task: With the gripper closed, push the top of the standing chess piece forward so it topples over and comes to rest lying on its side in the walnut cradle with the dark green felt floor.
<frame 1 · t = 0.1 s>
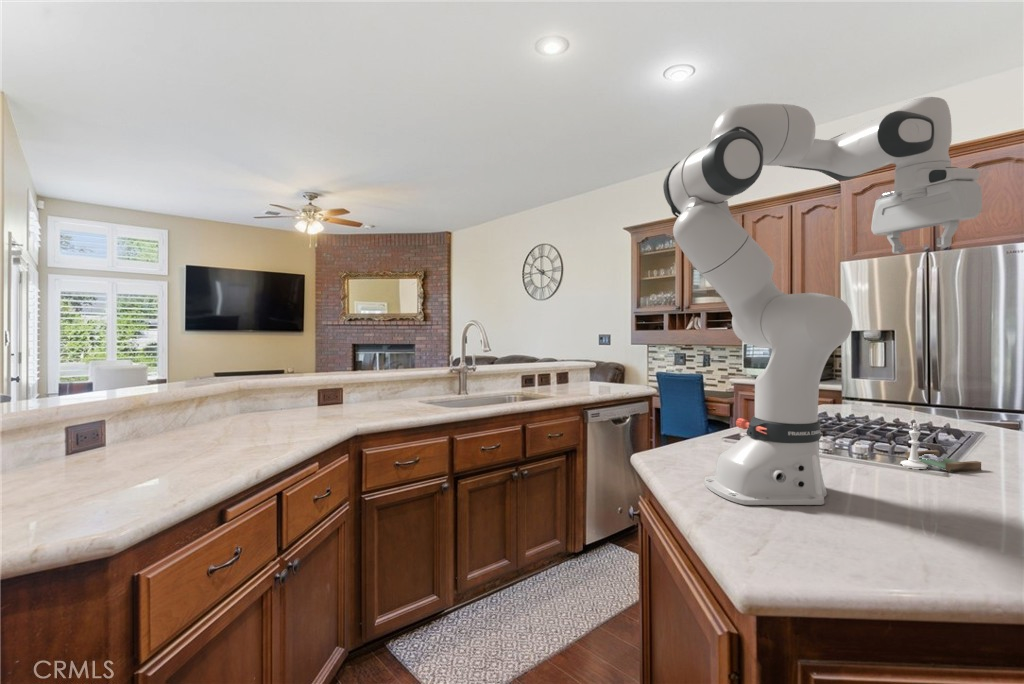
hand: (920, 250, 100), 48 cm above the countertop, fingers open, 8 cm apart
cradle: (942, 464, 111), on the countertop
chess piece: (913, 467, 109), on the countertop
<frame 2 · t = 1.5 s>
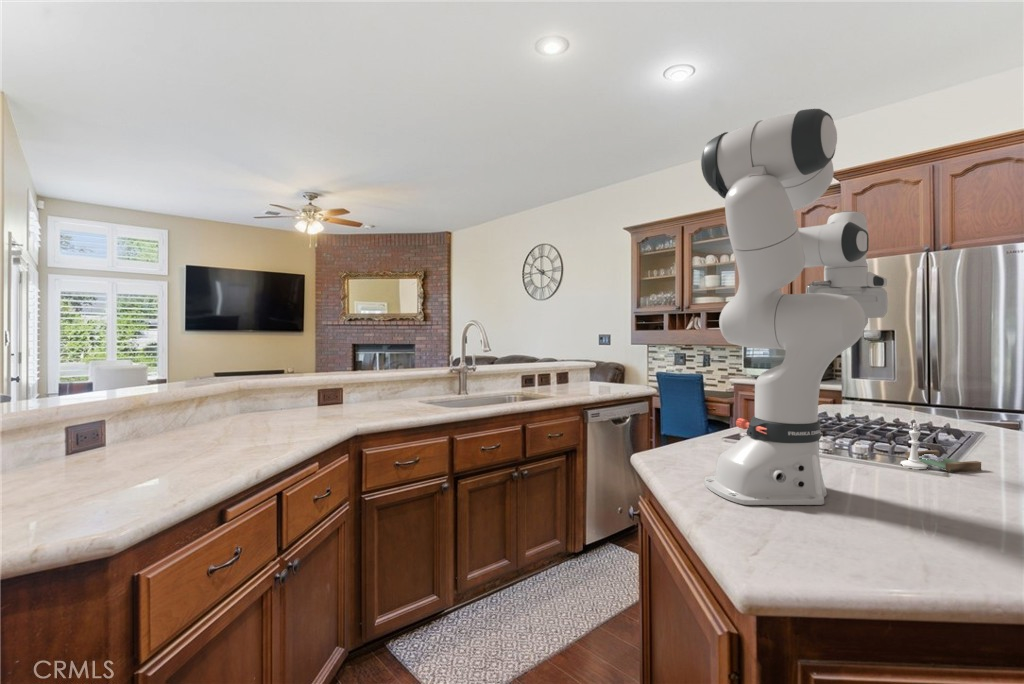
hand: (844, 337, 118), 29 cm above the countertop, fingers open, 6 cm apart
nothing on the countertop moved.
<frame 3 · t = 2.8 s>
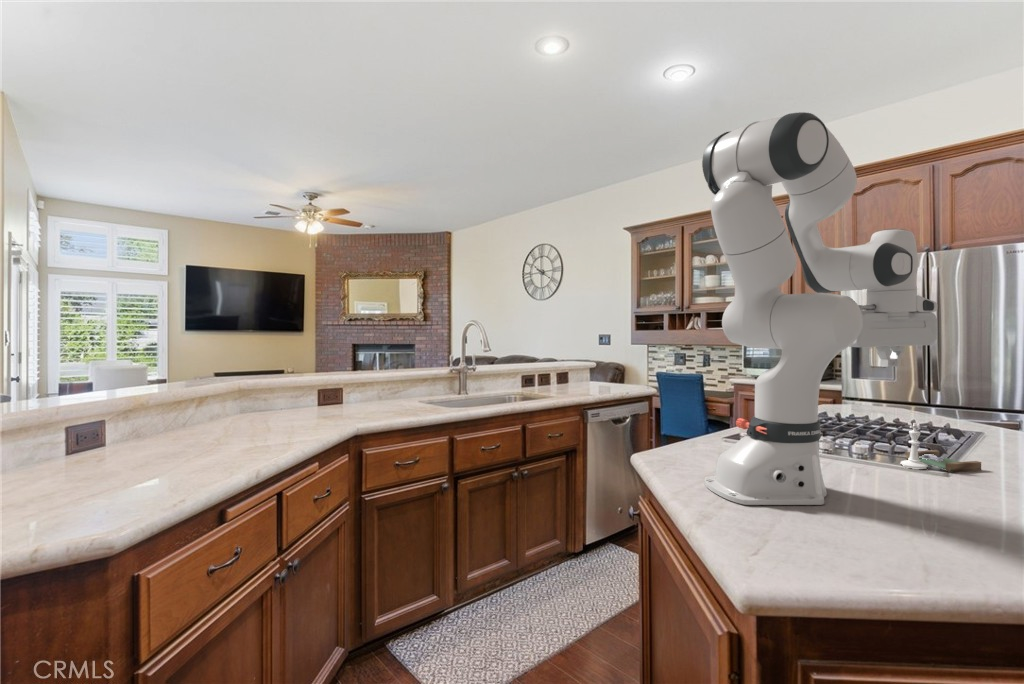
hand: (889, 366, 108), 23 cm above the countertop, fingers closed
nothing on the countertop moved.
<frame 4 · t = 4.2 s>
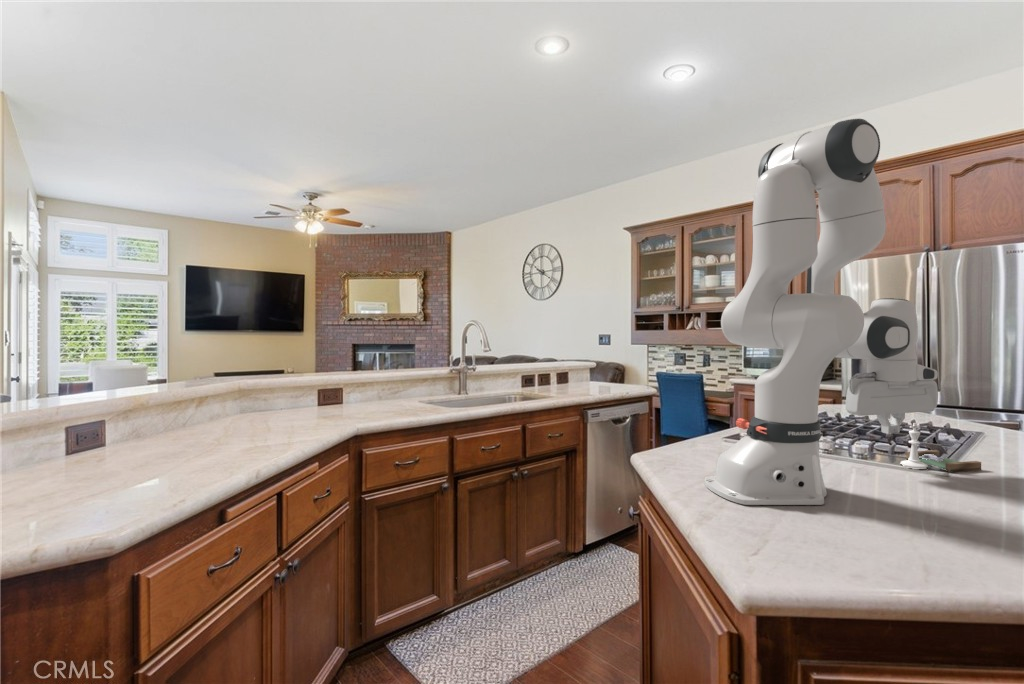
hand: (890, 432, 108), 8 cm above the countertop, fingers closed
nothing on the countertop moved.
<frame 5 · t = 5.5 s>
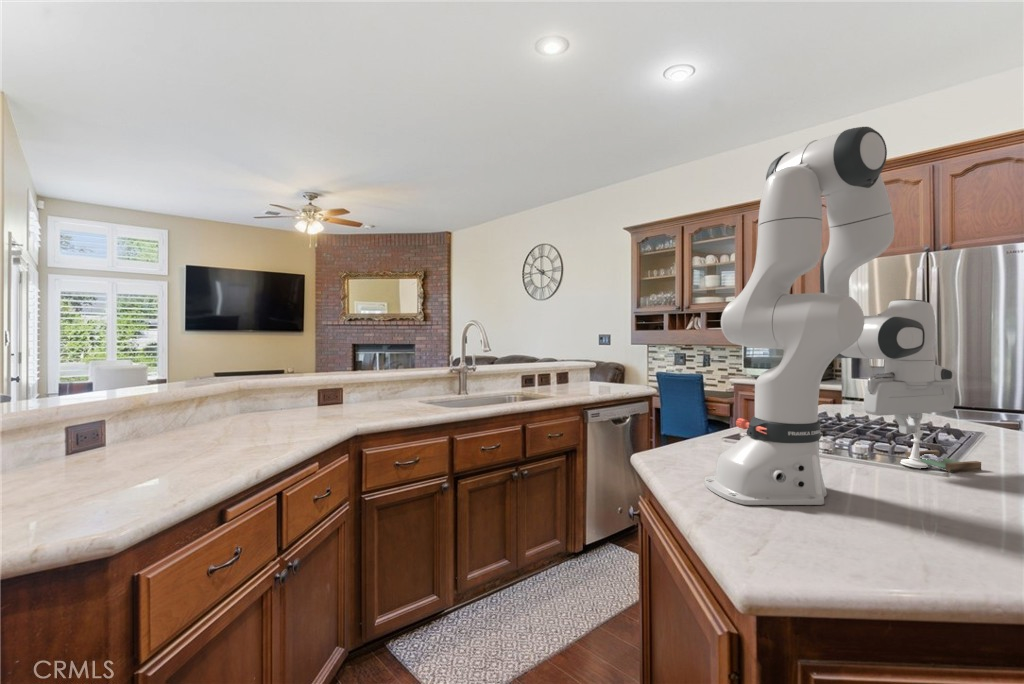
hand: (907, 432, 109), 8 cm above the countertop, fingers closed
chess piece: (913, 466, 109), on the countertop, touching gripper
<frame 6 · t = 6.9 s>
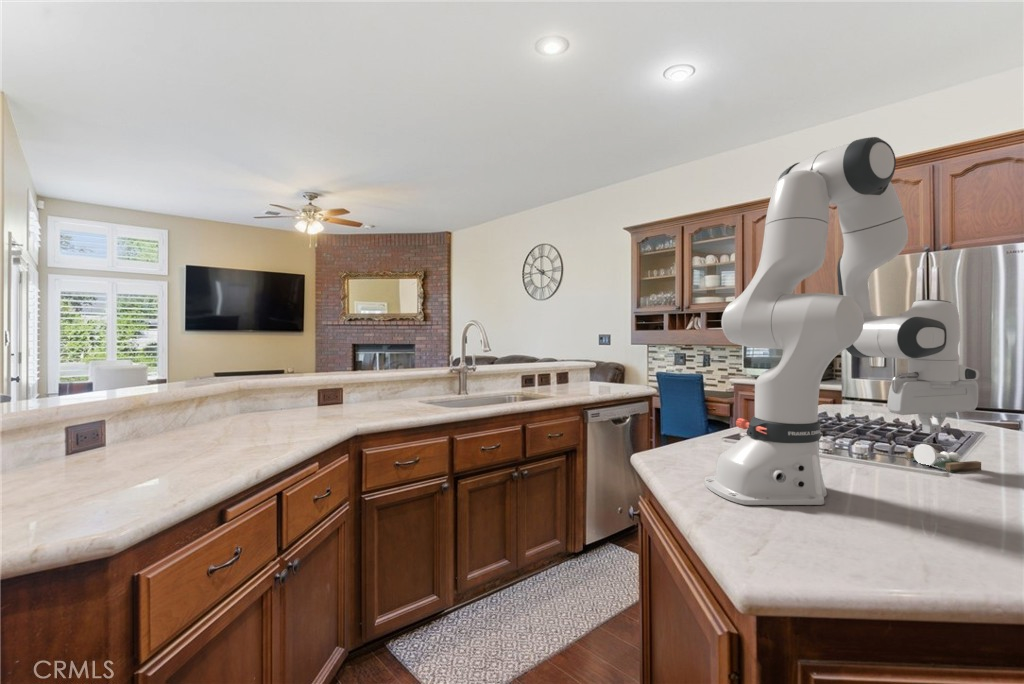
hand: (931, 432, 110), 8 cm above the countertop, fingers closed
chess piece: (923, 455, 110), point 3 cm above the countertop, touching cradle
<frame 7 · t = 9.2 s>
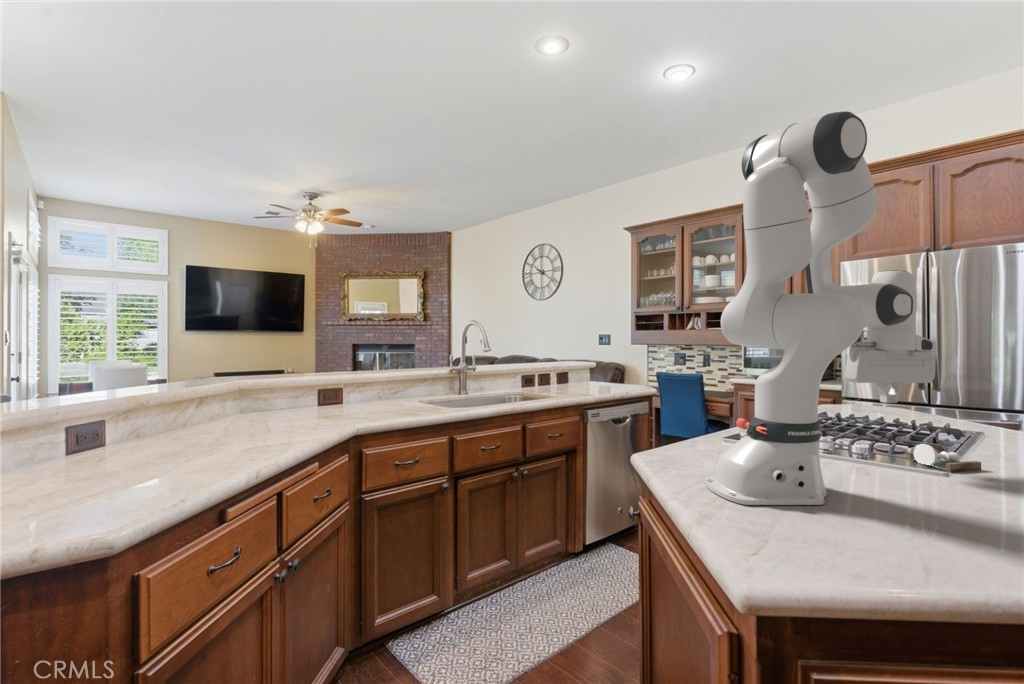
hand: (888, 402, 111), 14 cm above the countertop, fingers closed
nothing on the countertop moved.
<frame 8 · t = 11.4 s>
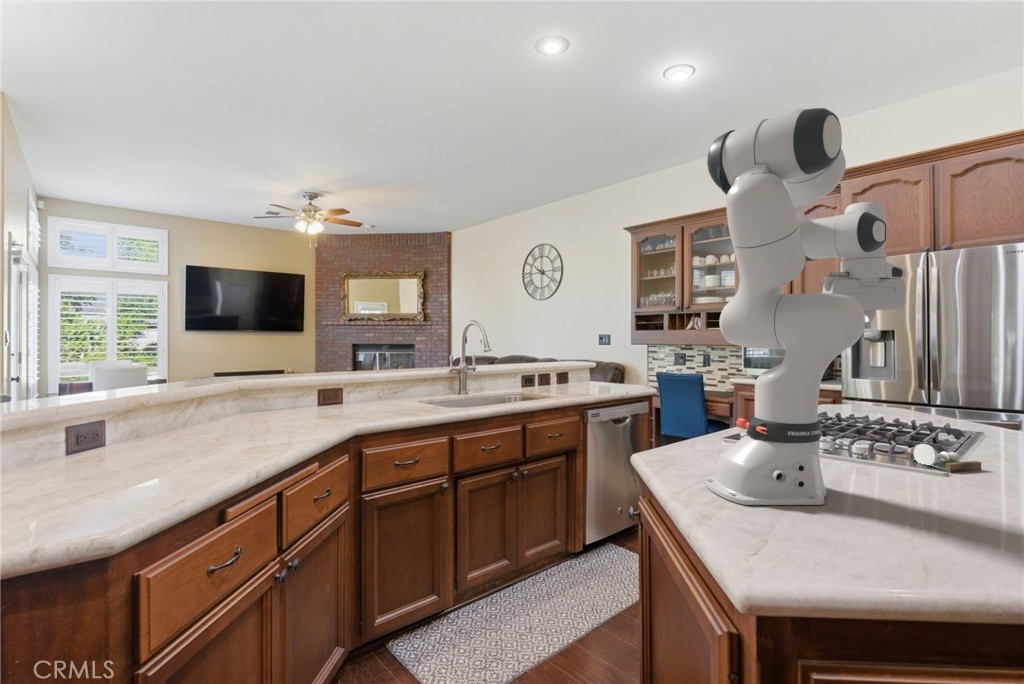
hand: (862, 329, 117), 31 cm above the countertop, fingers closed
nothing on the countertop moved.
at the end: chess piece tilted 96°; chess piece inside the target area (3.5 cm from its centre), point 2.5 cm above the countertop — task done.
